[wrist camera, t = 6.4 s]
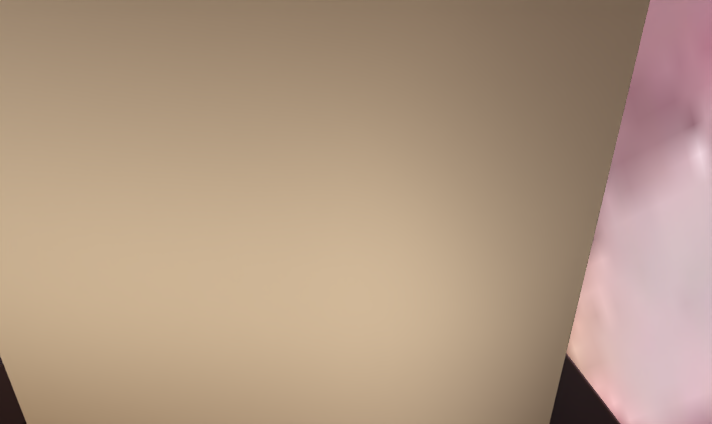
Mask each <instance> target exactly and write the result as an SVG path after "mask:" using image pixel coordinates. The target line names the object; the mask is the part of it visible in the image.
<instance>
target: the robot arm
mask: <svg viewBox="0 0 712 424" xmlns="http://www.w3.org/2000/svg"><path fill="white" fill-rule="evenodd" d="M0 424H27V423H26V420H25V418H24V415H23V413H22V410H21V408H20V405H19V402H18V400H17V397H16V395H15V392H14V390H13V387H12V385H11V382H10V379H9V377H8V374H7V372H6V369H5V367H4V364H1V365H0ZM549 424H620V423H619V421H618V420H617V419H616V417H615V416H614V415H613V413H612V412H611V411H610V410H609V408H608V407H607V406H606V404H605V403H604V402H603V400H602V399H601V398H600V396H599V395H598V394H597V393H596V391H595V390H594V389H593V387H592V386H591V385H590V383H589V382H588V381H587V380H586V378H585V377H584V376H583V374H582V373H581V372H580V370H579V369H578V368H577V367H576V365H575V364H574V363H573V361H572V360H571V359H570V357H569V356H568V355H567V354H566V355H565V360H564V364H563V368H562V372H561V376H560V381H559V385H558V389H557V393H556V397H555V402H554V406H553V410H552V414H551V418H550V423H549Z"/></svg>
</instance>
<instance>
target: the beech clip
mask: <svg viewBox="0 0 712 424" xmlns="http://www.w3.org/2000/svg"><path fill="white" fill-rule="evenodd" d="M649 2H650V0H0V356H1V359H2V362H3V364H4V367H5V369H6V372H7V374H8V377H9V379H10V382H11V385H12V387H13V390H14V392H15V395H16V397H17V400H18V402H19V405H20V408H21V410H22V413H23V415H24V418H25V420H26V423H27V424H549V423H550V418H551V414H552V410H553V406H554V402H555V397H556V393H557V389H558V385H559V381H560V376H561V372H562V368H563V364H564V360H565V355H566V351H567V347H568V343H569V339H570V334H571V330H572V326H573V322H574V318H575V313H576V309H577V305H578V301H579V297H580V292H581V288H582V284H583V280H584V276H585V271H586V267H587V263H588V259H589V255H590V250H591V246H592V242H593V238H594V234H595V229H596V225H597V221H598V217H599V213H600V208H601V204H602V200H603V196H604V192H605V187H606V183H607V179H608V175H609V171H610V166H611V162H612V158H613V154H614V150H615V145H616V141H617V137H618V133H619V129H620V124H621V120H622V116H623V112H624V108H625V103H626V99H627V95H628V91H629V87H630V82H631V78H632V74H633V70H634V66H635V61H636V57H637V53H638V49H639V45H640V40H641V36H642V32H643V28H644V23H645V19H646V15H647V11H648V7H649Z"/></svg>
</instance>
